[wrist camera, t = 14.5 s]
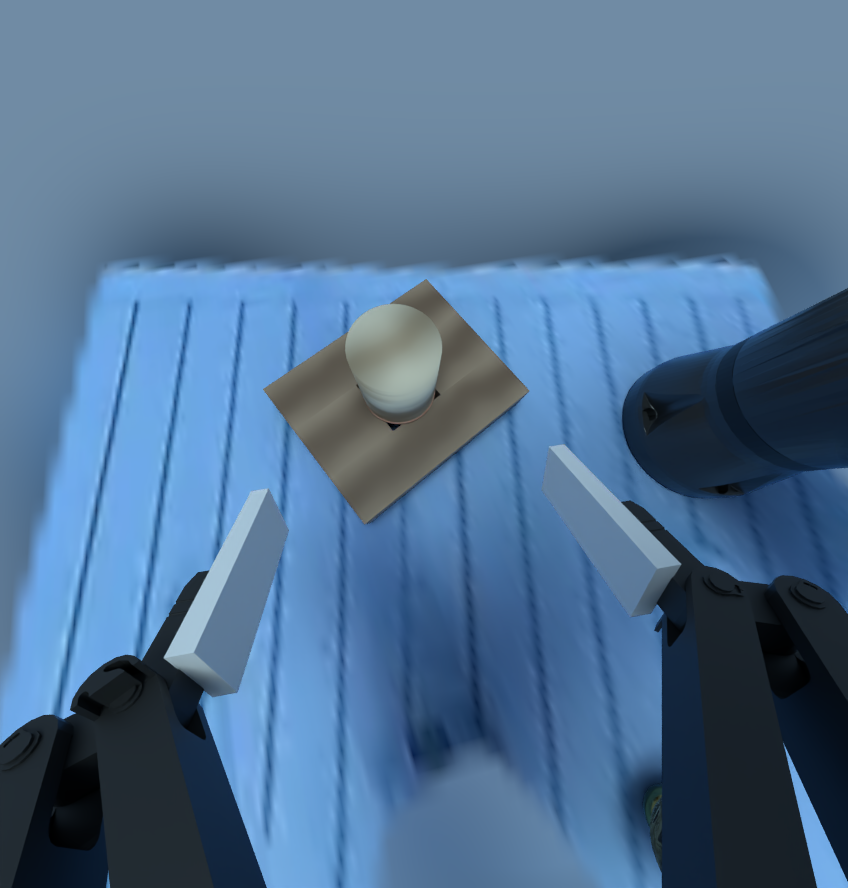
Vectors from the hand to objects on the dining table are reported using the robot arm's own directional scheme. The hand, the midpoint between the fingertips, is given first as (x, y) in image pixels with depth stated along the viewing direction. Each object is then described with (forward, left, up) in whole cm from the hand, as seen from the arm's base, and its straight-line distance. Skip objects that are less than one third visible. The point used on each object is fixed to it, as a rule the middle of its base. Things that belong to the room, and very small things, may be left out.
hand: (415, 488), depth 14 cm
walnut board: (+9, -5, -16) cm, 19 cm away
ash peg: (+9, -5, -16) cm, 19 cm away
